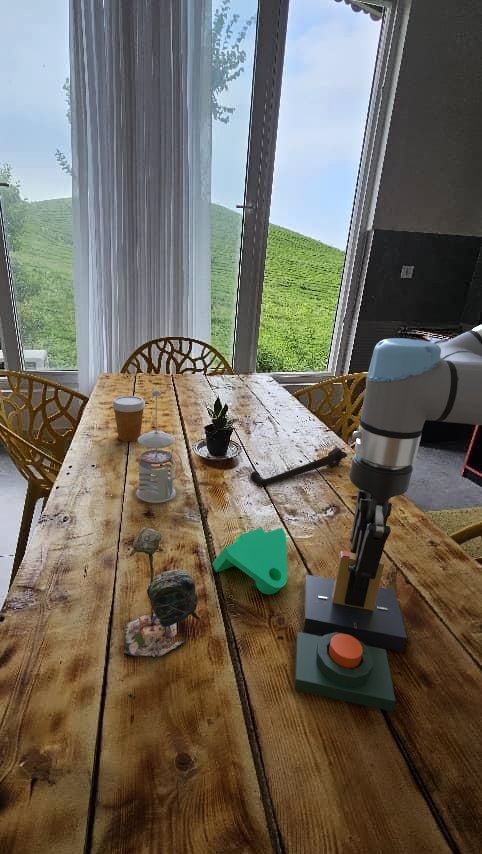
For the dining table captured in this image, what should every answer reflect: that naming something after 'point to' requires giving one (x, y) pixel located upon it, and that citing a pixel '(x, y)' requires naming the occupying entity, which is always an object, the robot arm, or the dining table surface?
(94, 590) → the dining table surface
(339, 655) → the release button
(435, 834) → the dining table surface
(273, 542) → the camera mount
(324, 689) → the box
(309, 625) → the black flat block
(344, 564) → the olive tan box
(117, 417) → the disposable coffee cup
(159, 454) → the french press
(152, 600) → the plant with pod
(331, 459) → the wrench
